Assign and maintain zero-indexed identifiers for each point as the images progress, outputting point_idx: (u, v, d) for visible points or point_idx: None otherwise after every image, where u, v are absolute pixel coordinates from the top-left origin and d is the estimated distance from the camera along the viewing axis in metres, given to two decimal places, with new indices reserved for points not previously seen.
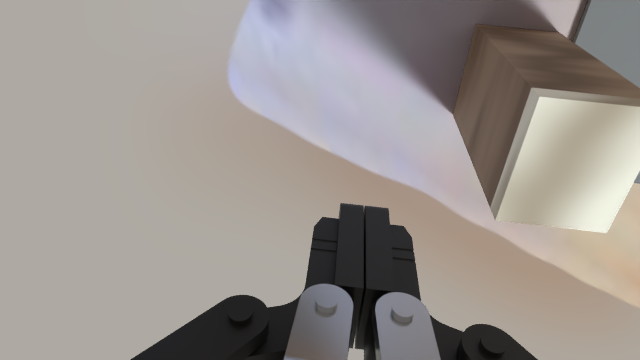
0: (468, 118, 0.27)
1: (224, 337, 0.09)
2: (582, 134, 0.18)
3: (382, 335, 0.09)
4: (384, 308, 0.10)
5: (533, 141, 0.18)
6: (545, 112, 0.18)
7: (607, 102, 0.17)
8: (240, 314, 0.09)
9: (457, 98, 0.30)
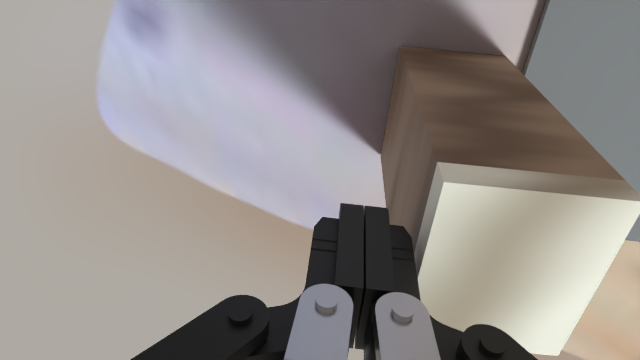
0: (389, 169, 0.21)
1: (224, 337, 0.09)
2: (513, 233, 0.12)
3: (382, 335, 0.09)
4: (384, 308, 0.10)
5: (442, 242, 0.12)
6: (455, 203, 0.11)
7: (548, 189, 0.11)
8: (240, 313, 0.09)
9: (384, 137, 0.24)
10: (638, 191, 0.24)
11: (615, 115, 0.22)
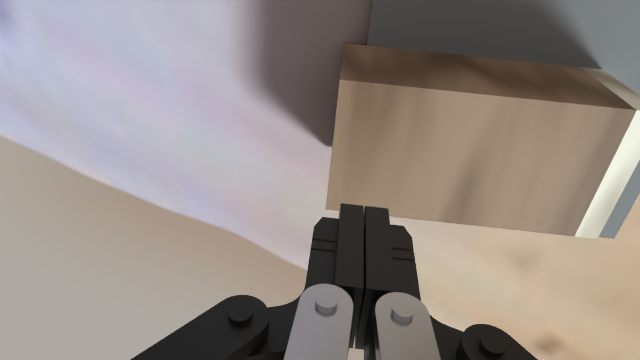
0: (413, 193, 0.19)
1: (224, 337, 0.09)
2: None
3: (382, 335, 0.09)
4: (384, 308, 0.10)
5: None
6: None
7: (624, 87, 0.19)
8: (241, 314, 0.09)
9: (332, 186, 0.19)
10: None
11: None
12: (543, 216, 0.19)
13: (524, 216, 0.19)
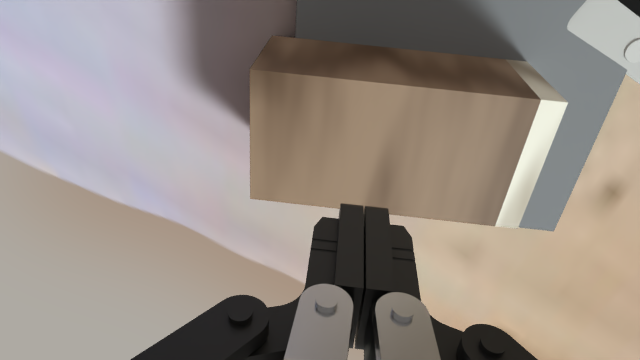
0: (333, 182, 0.19)
1: (224, 337, 0.09)
2: None
3: (382, 335, 0.09)
4: (384, 308, 0.10)
5: None
6: None
7: (540, 78, 0.19)
8: (240, 314, 0.09)
9: (254, 176, 0.20)
10: None
11: None
12: (462, 206, 0.20)
13: (444, 206, 0.20)
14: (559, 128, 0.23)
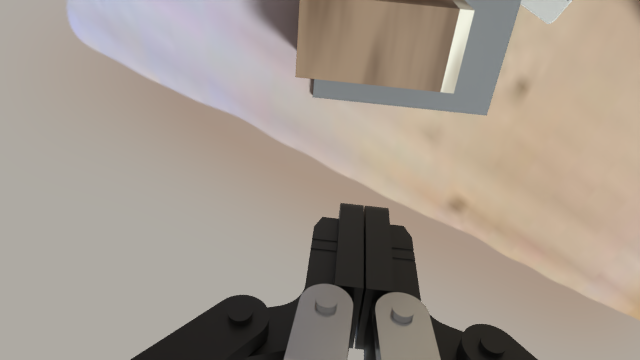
0: (345, 64, 0.33)
1: (224, 337, 0.09)
2: None
3: (382, 335, 0.09)
4: (384, 308, 0.10)
5: None
6: None
7: (464, 2, 0.33)
8: (240, 313, 0.09)
9: (298, 61, 0.33)
10: None
11: None
12: (420, 78, 0.33)
13: (409, 79, 0.33)
14: (484, 41, 0.36)
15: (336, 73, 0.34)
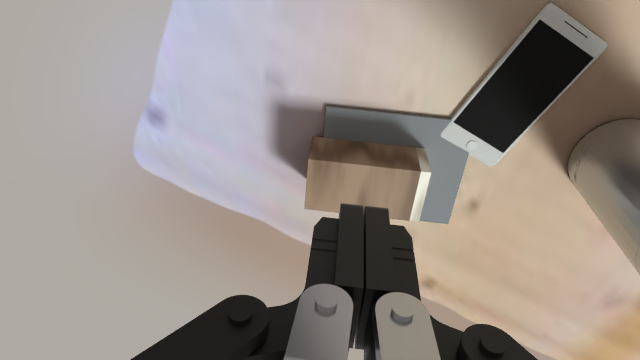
0: (340, 202, 0.46)
1: (224, 337, 0.09)
2: None
3: (382, 335, 0.09)
4: (384, 308, 0.10)
5: None
6: None
7: (426, 159, 0.46)
8: (240, 314, 0.09)
9: (307, 199, 0.46)
10: None
11: None
12: (394, 212, 0.46)
13: None
14: (443, 176, 0.49)
15: (334, 207, 0.47)
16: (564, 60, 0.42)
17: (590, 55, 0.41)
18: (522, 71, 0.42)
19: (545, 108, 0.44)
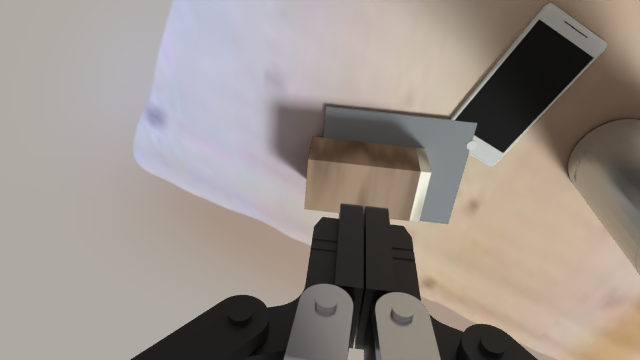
0: (340, 202, 0.46)
1: (224, 337, 0.09)
2: None
3: (382, 335, 0.09)
4: (384, 308, 0.10)
5: None
6: None
7: (426, 159, 0.46)
8: (240, 314, 0.09)
9: (307, 199, 0.46)
10: None
11: None
12: (394, 212, 0.46)
13: None
14: (443, 176, 0.49)
15: (334, 207, 0.47)
16: (564, 60, 0.42)
17: (589, 55, 0.41)
18: (522, 71, 0.42)
19: (545, 108, 0.44)
